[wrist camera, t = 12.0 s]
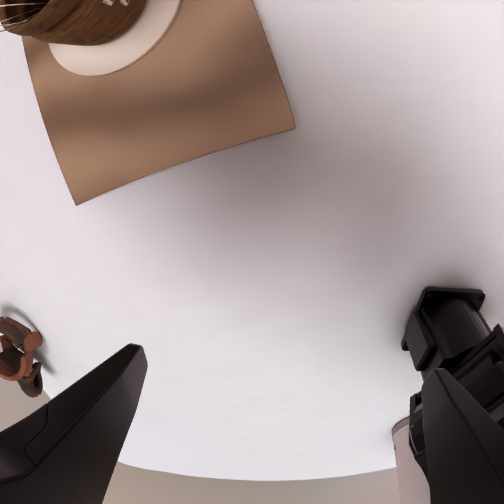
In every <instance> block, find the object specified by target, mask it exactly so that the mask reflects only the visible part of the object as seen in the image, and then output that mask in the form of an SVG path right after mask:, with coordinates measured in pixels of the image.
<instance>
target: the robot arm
mask: <svg viewBox="0 0 504 504" xmlns="http://www.w3.org/2000/svg"><path fill="white" fill-rule="evenodd" d="M429 293H430V294H429ZM427 294H429V295H427ZM484 299H485V294H484V293H483V291H479V290H463V289H448V288H433V287H428V288H426V289H425V290H424V291H423V293H422V295H421V298H420V301H419V303H418V306H417V308H416V311H415V312H414V313H413V315H412V318H411V320H410V322H409V325H408V327H407V329H406V332H405V334H404V339H403V341H402V343H401V347H402V350H404V351H410V354H411V357H412V360H413V364H414V367H415V369H416V371H421V375H422V378H423V381H424V383H423V385H422V389H421V391H420V392H419V393H416V394H414V395H413V396H411V397H410V418H409V446H410V448H411V451H412V453H413V455H414V459H415V460H416V462H417V463H418V465H419V466H420V467H421V469H422V471H423V473H424V475H425V477H426V479H427V482H428V485H429V488H430V504H504V329H503V328H502V327H501V325H500V324H499V323H498V324H497V325H496V326H495V327H494V328H493V329H494V330H493V331H491V329H490V328H489V326H488V324H487V323H486V321H485V319H484V318H483V316H482V315H481V313H480V311H479V310H480V308H481V305H482V303H483V301H484ZM147 367H148V364H147V360H146V356H145V353H144V349H143V347H142V346H141V345H137V344H132V343H130V344H128V345H126V346H125V347H124V348H122V349H121V350H119V351H118V352H117V353H115V354H114V355H112V356H111V357H110V358H108V359H107V360H106V361H104V362H103V363H101V364H100V365H99V366H97V367H96V368H95V369H93V370H92V371H90V372H89V373H88V374H86V375H85V376H83V377H82V378H81V379H79V380H78V381H77V382H75V383H74V384H72V385H71V386H70V387H68V388H67V389H65V390H64V391H63V392H61V393H60V394H59V395H57V396H56V397H54V398H53V399H52V400H50V401H49V402H48V403H46V404H45V405H43V406H42V407H41V408H39V409H38V410H36V411H35V412H33V413H32V414H30V415H29V416H27V417H26V418H24V419H22V420H21V421H19V422H17V423H16V424H14V425H12V426H10V427H8V428H7V429H5V430H3V431H1V432H0V504H102V502H103V499H104V496H105V493H106V491H107V487H108V485H109V482H110V479H111V476H112V474H113V471H114V468H115V465H116V463H117V460H118V457H119V454H120V452H121V449H122V446H123V444H124V441H125V438H126V436H127V433H128V430H129V428H130V425H131V423H132V420H133V418H134V415H135V412H136V409H137V406H138V402H139V398H140V394H141V390H142V387H143V383H144V379H145V376H146V372H147Z"/></svg>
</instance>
